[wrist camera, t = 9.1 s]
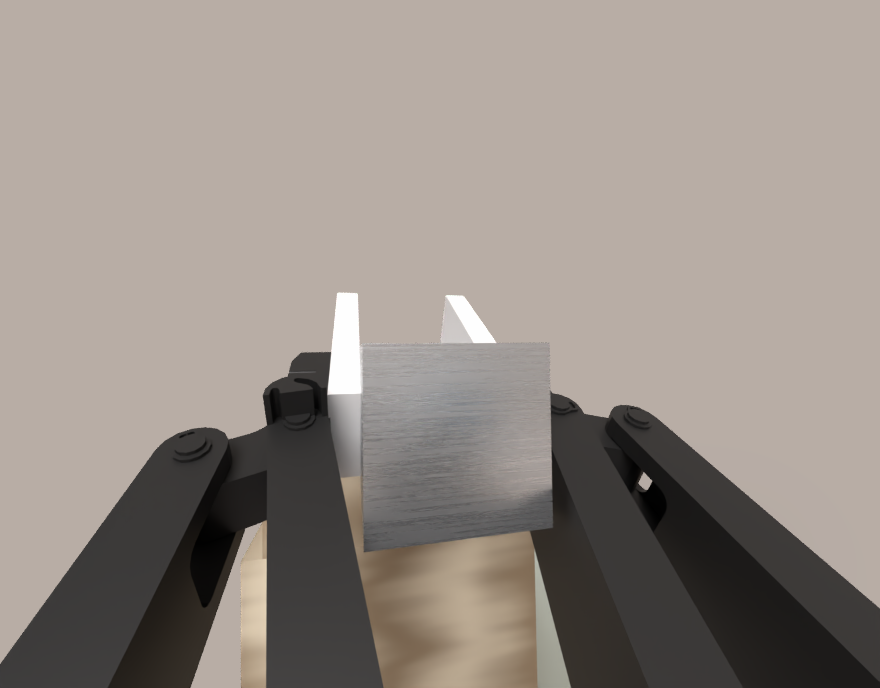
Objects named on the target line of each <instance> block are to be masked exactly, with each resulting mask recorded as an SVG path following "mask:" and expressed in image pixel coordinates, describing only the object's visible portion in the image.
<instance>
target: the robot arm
mask: <svg viewBox="0 0 880 688" xmlns="http://www.w3.org/2000/svg"><path fill="white" fill-rule="evenodd" d="M440 343H496V342H495V340H494V339H493V337H492V336H491V334H490V333H489V331H488V330H487V329H486V327H485V326H484V325H483V323H482V322H481V320H480V319H479V317H478V316H477V314H476V313H475V312H474V310H473V309H472V307H471V306H470V305H469V303H468V302H467V300H466V299H465V297H464V296H451V295H450V296H449V295H446V297H445V306H444V315H443V323H442V332H441V340H440ZM263 400H264V406H265V414H266V420H267V426H266V427H264V428H262V429H260V430H258V431H256V432H253V433H251V434H247V435H244V436H240V437H237V438H233V439H229V440H228V438H227V436H226V434H225V433H224V432H222V431H220V430H218V429H215V428H206V427H205V428H196V429H190V430H187V431H184V432H181V433H178V434H176V435H174V436H173V437H171V438H169V439H167V440H166V441H164V442H163V443H162V444H161V445H160V446H159V447H158V448H157V449H156V450H155V451H154V453H153V454H152V456H151V457H150V458H149V460H148V461H147V463H146V464H145V465H144V467H143V468H142V469H141V471H140V472H139V473H138V475H137V476H136V478H135V479H134V480H133V482H132V483H131V484H130V486H129V487H128V489H127V490H126V492H125V493H124V494H123V496H122V497H121V498H120V500H119V501H118V503H117V504H116V505H115V507H114V508H113V509H112V511H111V512H110V513H109V515H108V516H107V518H106V519H105V520H104V522H103V523H102V524H101V526H100V527H99V529H98V530H97V531H96V533H95V534H94V536H93V537H92V538H91V540H90V541H89V542H88V544H87V545H86V547H85V548H84V550H83V551H82V552H81V554H80V555H79V556H78V558H77V559H76V560H75V562H74V563H73V565H72V566H71V567H70V569H69V570H68V571H67V573H66V574H65V576H64V577H63V578H62V580H61V581H60V583H59V584H58V585H57V587H56V588H55V589H54V591H53V592H52V594H51V595H50V596H49V598H48V599H47V600H46V602H45V603H44V605H43V606H42V607H41V609H40V610H39V612H38V613H37V614H36V616H35V617H34V618H33V620H32V621H31V623H30V624H29V625H28V627H27V628H26V629H25V631H24V632H23V633H22V635H21V636H20V638H19V639H18V640H17V642H16V643H15V645H14V646H13V647H12V649H11V650H10V652H9V653H8V654H7V656H6V657H5V658H4V660H3V661H2V662H1V664H0V688H190V687H191V684H192V681H193V679H194V676H195V673H196V670H197V667H198V664H199V661H200V658H201V656H202V653H203V650H204V647H205V644H206V641H207V638H208V635H209V632H210V629H211V627H212V624H213V621H214V618H215V615H216V612H217V609H218V606H219V604H220V601H221V597H222V595H223V592H224V589H225V586H226V583H227V581H228V578H229V575H230V572H231V569H232V566H233V563H234V560H235V557H236V554H237V552H238V549H239V546H240V543H241V540H242V537H243V534H244V531H245V528H247V527H250V526H253V525H256V524H258V523H261V522H264V521H266V520H267V590H266V688H384V687H383V682H382V677H381V672H380V667H379V662H378V657H377V653H376V648H375V643H374V638H373V633H372V628H371V623H370V619H369V614H368V609H367V604H366V599H365V594H364V589H363V585H362V580H361V575H360V570H359V565H358V560H357V555H356V551H355V546H354V541H353V536H352V531H351V526H350V521H349V517H348V512H347V507H346V502H345V497H344V492H343V487H342V483H341V478H344V477H356V476H360V364H359V321H358V293H337V301H336V311H335V322H334V332H333V342H332V352H324V353H323V352H319V353H318V352H316V353H313V352H312V353H300V354H299V355H298V356H297V357H296V358H295V359H294V360H293V361H292V363H291V367H290V370H289V374H288V377H284V378H281V379H279V380H277V381H275V382H273V383H271V384H270V385H269V386H268V387H267V388H266V389H265V392H264V394H263ZM550 403H551V455H552V507H553V528H548V529H540V530H532V531H530V534H531V537H532V541H533V545H534V549H535V553H536V556H537V560H538V564H539V568H540V572H541V575H542V579H543V583H544V587H545V591H546V595H547V598H548V602H549V606H550V610H551V614H552V617H553V621H554V625H555V629H556V633H557V636H558V640H559V644H560V648H561V652H562V655H563V659H564V663H565V667H566V671H567V675H568V678H569V682H570V686H571V688H880V608H878V607H877V606H876V605H875V604H874V603H872V602H871V601H870V600H869V599H868V598H867V597H866V596H864V595H863V594H862V593H861V592H860V591H859V590H857V589H856V588H855V587H854V586H853V585H852V584H850V583H849V582H848V581H847V580H846V579H845V578H843V577H842V576H841V575H840V574H839V573H838V572H836V571H835V570H834V569H833V568H832V567H830V566H829V565H828V564H827V563H826V562H825V561H823V560H822V559H821V558H820V557H819V556H818V555H816V554H815V553H814V552H813V551H812V550H811V549H809V548H808V547H807V546H806V545H805V544H804V543H802V542H801V541H800V540H799V539H798V538H797V537H795V536H794V535H793V534H792V533H791V532H790V531H788V530H787V529H786V528H785V527H784V526H783V525H781V524H780V523H779V522H778V521H777V520H776V519H774V518H773V517H772V516H771V515H770V514H768V513H767V512H766V511H765V510H764V509H763V508H761V507H760V506H759V505H758V504H757V503H756V502H754V501H753V500H752V499H751V498H750V497H749V496H747V495H746V494H745V493H744V492H743V491H741V490H740V489H739V488H738V487H737V486H736V485H735V484H733V483H732V482H731V481H730V480H729V479H727V478H726V477H725V476H724V475H723V474H722V473H720V472H719V471H718V470H717V469H716V468H715V467H713V466H712V465H711V464H710V463H709V462H708V461H706V460H705V459H704V458H703V457H702V456H700V455H699V454H698V453H697V452H696V451H695V450H693V449H692V448H691V447H690V446H689V445H688V444H687V443H685V442H684V441H683V440H682V439H681V438H680V437H678V436H677V435H676V434H675V433H674V432H673V431H671V430H670V429H669V428H668V427H667V426H665V425H664V424H663V423H662V422H661V421H660V420H658V419H657V418H656V417H654V416H653V415H652V414H650V413H649V412H646V411H644V410H642V409H641V408H638V407H634V406H629V405H620V406H616V407H614V408H613V409H612V411H611V413H610V415H609V418H604V417H598V416H593V415H587V414H584V413H583V411H582V409H581V408H580V407H579V406H578V405H577V404H576V403H575V402H574V401H572V400H571V399H569V398H567V397H564V396H562V395H559V394H553V393H552V392H551V391H550ZM643 472H645V473H646V475H647V476H648V477H649V478H650V479H651V480H652V483H651V485H650V487H649V489H648V490H644V489H643V488H642V487H641V486H640V485H639V484H638V482H639V480H640V478H641V476H642V474H643Z"/></svg>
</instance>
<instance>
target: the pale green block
mask: <svg viewBox="0 0 880 688" xmlns="http://www.w3.org/2000/svg"><path fill="white" fill-rule="evenodd" d="M534 556H535V598H536V641H537V684H538V688H571V686H570V682H569V678H568V675H567V671H566V667H565V663H564V659H563V655H562V652H561V648H560V644H559V640H558V636H557V633H556V629H555V625H554V621H553V617H552V614H551V610H550V606H549V602H548V598H547V595H546V591H545V587H544V583H543V579H542V575H541V572H540V568H539V564H538V560H537V556H536V553H535V549H534Z"/></svg>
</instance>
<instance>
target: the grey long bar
mask: <svg viewBox="0 0 880 688" xmlns="http://www.w3.org/2000/svg"><path fill="white" fill-rule="evenodd" d="M549 353H550V351H549V343H405V344H404V343H403V344H401V343H396V344H362V345H361V346H360V347H359V364H360V487H361V506H362V526H363V546H364V552H371V551H379V550H387V549H394V548H402V547H410V546H417V545H425V544H433V543H440V542H448V541H456V540H463V539H471V538H479V537H486V536H494V535H502V534H509V533H517V532H525V531H532V530H540V529H548V528H553V507H552V455H551V403H550V354H549Z"/></svg>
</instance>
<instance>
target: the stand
mask: <svg viewBox="0 0 880 688" xmlns="http://www.w3.org/2000/svg"><path fill="white" fill-rule="evenodd" d="M341 483H342V487H343V492H344V497H345V502H346V507H347V512H348V517H349V521H350V526H351V531H352V536H353V541H354V546H355V551H356V555H357V560H358V565H359V570H360V575H361V580H362V585H363V589H364V594H365V599H366V604H367V609H368V614H369V619H370V623H371V628H372V633H373V638H374V643H375V648H376V653H377V657H378V662H379V667H380V672H381V677H382V682H383V687H384V688H538V684H537V641H536V598H535V556H534V545H533V541H532V537H531V534H530V531H525V532H517V533H509V534H502V535H494V536H486V537H479V538H471V539H463V540H456V541H448V542H440V543H433V544H425V545H417V546H410V547H402V548H394V549H387V550H379V551H371V552H364V546H363V526H362V506H361V487H360V476H356V477H344V478H341ZM266 590H267V520H266V521H264V522H262V524H261V526H260V528H259V530H258V531H257V533H256V535H255V537H254V539H253V541H252V542H251V544H250V546H249V548H248V550H247V552H246V554H245V556H244V557H243V559H242V561H241V688H266Z"/></svg>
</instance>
